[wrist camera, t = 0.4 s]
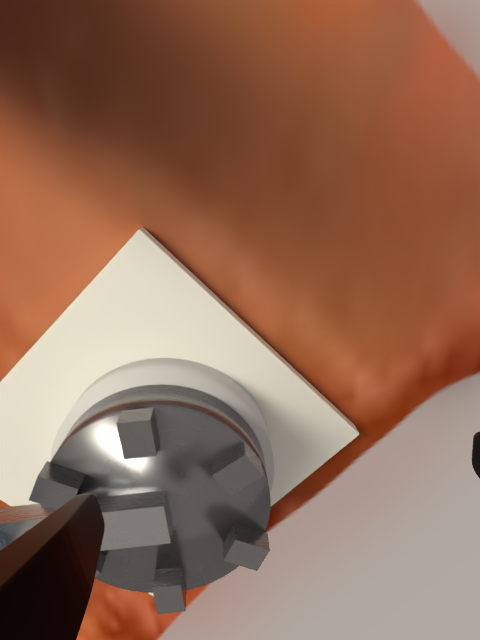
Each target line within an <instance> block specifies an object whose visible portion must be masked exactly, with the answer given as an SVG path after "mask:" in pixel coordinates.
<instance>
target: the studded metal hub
mask: <svg viewBox="0 0 480 640" xmlns="http://www.w3.org/2000/svg"><path fill="white" fill-rule="evenodd" d="M87 493H93V494H95V495H96V497H97V500H98V503H99V506H100V509H101V512H102V515H103V518H104V523H105V530H104V536H103V540H102V545H101V550H100V555H99V559H98V564H97V569H96V574H95V579H97V580H100V581H102V582H104V583H106V584H109V585H112V586H115V587H118V588H122V589H127V590H131V591H138V592H146V593H153V595H154V599H155V604H156V609H157V613H158V614H163V613H172V612H181V611H185V609H186V597H187V590H189V589H193V588H197V587H200V586H203V585H206V584H208V583H211V582H213V581H215V580H217V579H219V578H221V577H223V576H225V575H226V574H228V573H230V572H231V571H233V570H234V569H236V568H237V567H238V566H239V565H240V566H243V567H246V568H249V569H253V570H256V571H257V570H258V568H259V567H260V565H261V563H262V562H263V560H264V559H265V557H266V556H267V554H268V552H269V550H270V549H269V542H268V535H267V533H265V530H266V527H267V524H268V522H269V516H270V510H271V498H270V491H269V485H268V479H267V473H266V466H265V460H264V454H263V451H262V448H261V445H260V442H259V440H258V438H257V437H256V435H255V433H254V431H253V430H252V428H251V427H250V426H249V424H248V423H247V422H246V421H245V420H244V419H243V418H242V416H241V415H240V414H239V413H237V412H236V411H235V410H234V409H232V408H231V407H230V406H229V405H227V404H225V403H224V402H222V401H221V400H219V399H217V398H215V397H213V396H211V395H209V394H206V393H204V392H201V391H198V390H195V389H192V388H187V387H182V386H176V385H163V384H161V385H145V386H138V387H133V388H129V389H126V390H122V391H119V392H117V393H114V394H112V395H110V396H107V397H105V398H104V399H102V400H100V401H99V402H97V403H95V404H94V405H93V406H91V407H90V408H89V409H88V410H86V411H85V412H84V413H83V414H82V415H81V416H80V417H79V418H78V419H77V420H76V422H75V423H74V425H73V426H72V427H71V429H70V430H69V432H68V433H67V435H66V437H65V438H64V440H63V442H62V443H61V445H60V447H59V448H58V450H57V452H56V453H55V455H54V457H53V458H52V460H51V461H50V462H48V461H47V462H46V463H45V465H44V467H43V468H42V470H41V471H40V473H39V475H38V476H37V479H36V482H35V484H34V487H33V490H32V492H31V495H30V498H29V501H32V502H36V503H39V504H30V505H20V506H11V507H1V508H0V550H2V549H3V548H4V547H6V546H7V545H9V544H10V543H11V542H13V541H14V540H15V539H17V538H18V537H20V536H21V535H22V534H24V533H25V532H27V531H28V530H29V529H31V528H32V527H33V526H35V525H36V524H38V523H39V522H40V521H42V520H43V519H45V518H46V517H47V516H49V515H50V514H51V513H53V512H54V511H56V510H57V509H58V508H60V507H61V506H63V505H64V504H65V503H67V502H68V501H69V500H71V499H72V498H74V497H75V496H77V495H81V494H87Z"/></svg>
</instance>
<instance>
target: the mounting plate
mask: <svg viewBox="0 0 480 640" xmlns="http://www.w3.org/2000/svg"><path fill="white" fill-rule="evenodd" d="M161 384H163V385H176V386H182V387H187V388H192V389H195V390H198V391H201V392H204V393H206V394H209V395H211V396H213V397H215V398H217V399H219V400H221V401H222V402H224V403H225V404H227V405H229V406H230V407H231V408H232V409H234V410H235V411H236V412H237V413H239V414H240V415H241V416H242V418H243V419H244V420H245V421H246V422H247V423H248V424H249V426H250V427H251V428H252V430H253V431H254V433H255V435H256V437H257V438H258V440H259V442H260V445H261V448H262V451H263V454H264V460H265V466H266V473H267V479H268V485H269V491H270V498H271V506H272V505H274V504H275V503H276V502H277V501H279V500H280V499H281V498H282V497H283V496H285V495H286V494H287V493H288V492H290V491H291V490H292V489H293V488H294V487H296V486H297V485H298V484H299V483H301V482H302V481H303V480H304V479H306V478H307V477H308V476H309V475H310V474H312V473H313V472H314V471H315V470H317V469H318V468H319V467H320V466H321V465H323V464H324V463H325V462H326V461H328V460H329V459H330V458H331V457H332V456H334V455H335V454H336V453H337V452H339V451H340V450H341V449H342V448H343V447H345V446H346V445H347V444H348V443H350V442H351V441H352V440H353V439H355V438H356V437H357V436H358V435H359V432H358V430H357V429H356V427H355V425H354V424H353V423H352V422H351V421H350V420H349V419H348V418H347V417H346V416H344V415H343V414H342V413H341V412H340V411H339V410H338V409H337V408H336V407H335V406H334V405H333V404H332V403H331V402H330V401H328V400H327V399H326V398H325V397H324V396H323V395H322V394H321V393H320V392H319V391H318V390H317V389H316V388H315V387H313V386H312V385H311V384H310V383H309V382H308V381H307V380H306V379H305V378H304V377H303V376H302V375H301V374H300V373H299V372H297V371H296V370H295V369H294V368H293V367H292V366H291V365H290V364H289V363H288V362H287V361H286V360H285V359H284V358H282V357H281V356H280V355H279V354H278V353H277V352H276V351H275V350H274V349H273V348H272V347H271V346H270V345H269V344H268V343H266V342H265V341H264V340H263V339H262V338H261V337H260V336H259V335H258V334H257V333H256V332H255V331H254V330H253V329H251V328H250V327H249V326H248V325H247V324H246V323H245V322H244V321H243V320H242V319H241V318H240V317H239V316H238V315H236V314H235V313H234V312H233V311H232V310H231V309H230V308H229V307H228V306H227V305H226V304H225V303H224V302H223V301H222V300H220V299H219V298H218V297H217V296H216V295H215V294H214V293H213V292H212V291H211V290H210V289H209V288H208V287H207V286H205V285H204V284H203V283H202V282H201V281H200V280H199V279H198V278H197V277H196V276H195V275H194V274H193V273H192V272H191V271H189V270H188V269H187V268H186V267H185V266H184V265H183V264H182V263H181V262H180V261H179V260H178V259H177V258H176V257H174V256H173V255H172V254H171V253H170V252H169V251H168V250H167V249H166V248H165V247H164V246H163V245H162V244H161V243H160V242H158V241H157V240H156V239H155V238H154V237H153V236H152V235H151V234H150V233H149V232H148V231H147V230H146V229H145V228H143V227H142V228H140V229H139V230H138V231H137V232H136V233H135V234H134V236H133V237H132V238H131V239H130V240H129V241H128V242H127V243H126V244H125V245H124V247H123V248H122V249H121V250H120V251H119V252H118V253H117V254H116V255H115V256H114V258H113V259H112V260H111V261H110V262H109V263H108V264H107V265H106V266H105V267H104V269H103V270H102V271H101V272H100V273H99V274H98V275H97V276H96V277H95V278H94V280H93V281H92V282H91V283H90V284H89V285H88V286H87V287H86V288H85V290H84V291H83V292H82V293H81V294H80V295H79V296H78V297H77V298H76V299H75V301H74V302H73V303H72V304H71V305H70V306H69V307H68V308H67V309H66V310H65V312H64V313H63V314H62V315H61V316H60V317H59V318H58V319H57V320H56V321H55V323H54V324H53V325H52V326H51V327H50V328H49V329H48V330H47V331H46V332H45V334H44V335H43V336H42V337H41V338H40V339H39V340H38V341H37V342H36V343H35V345H34V346H33V347H32V348H31V349H30V350H29V351H28V352H27V353H26V354H25V356H24V357H23V358H22V359H21V360H20V361H19V362H18V363H17V364H16V365H15V367H14V368H13V369H12V370H11V371H10V372H9V373H8V374H7V375H6V376H5V378H4V379H3V380H2V381H1V382H0V500H2V501H3V502H5V503H7V504H8V505H10V506H20V505H30V504H39V503H36V502H32V501H29V498H30V495H31V492H32V490H33V487H34V484H35V482H36V479H37V476H38V475H39V473H40V471H41V470H42V468H43V467H44V465H45V463H46V462H47V461H48V462H50V461H51V460H52V458H53V457H54V455H55V453H56V452H57V450H58V448H59V447H60V445H61V443H62V442H63V440H64V438H65V437H66V435H67V433H68V432H69V430H70V429H71V427H72V426H73V425H74V423H75V422H76V420H77V419H78V418H79V417H80V416H81V415H82V414H83V413H84V412H85V411H86V410H88V409H89V408H90V407H91V406H93V405H94V404H95V403H97V402H99V401H100V400H102V399H104V398H105V397H107V396H110V395H112V394H114V393H117V392H119V391H122V390H126V389H129V388H133V387H138V386H145V385H161ZM149 594H151V595H152V596H154V595H153V593H149Z"/></svg>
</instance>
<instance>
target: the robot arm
mask: <svg viewBox="0 0 480 640" xmlns="http://www.w3.org/2000/svg"><path fill="white" fill-rule="evenodd" d="M472 465H473V468H474V470H475V472H476V474H477V475H478V477H479V478H480V432H477V433H476V434H475V435H474V438H473V451H472ZM104 530H105V523H104V518H103V515H102V512H101V509H100V506H99V503H98V500H97V497H96V495H95V494H93V493H87V494H81V495H77V496H75V497H74V498H72V499H71V500H69V501H68V502H67V503H65V504H64V505H63V506H61V507H60V508H58V509H57V510H56V511H54V512H53V513H51V514H50V515H49V516H47V517H46V518H45V519H43V520H42V521H40V522H39V523H38V524H36V525H35V526H33V527H32V528H31V529H29V530H28V531H27V532H25V533H24V534H22V535H21V536H20V537H18V538H17V539H15V540H14V541H13V542H11V543H10V544H9V545H7V546H6V547H4V548H3V549H2V550H0V640H76V639H77V635H78V632H79V629H80V626H81V623H82V620H83V617H84V614H85V611H86V608H87V605H88V602H89V598H90V595H91V592H92V587H93V583H94V579H95V574H96V569H97V564H98V559H99V555H100V550H101V545H102V540H103V536H104Z"/></svg>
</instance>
